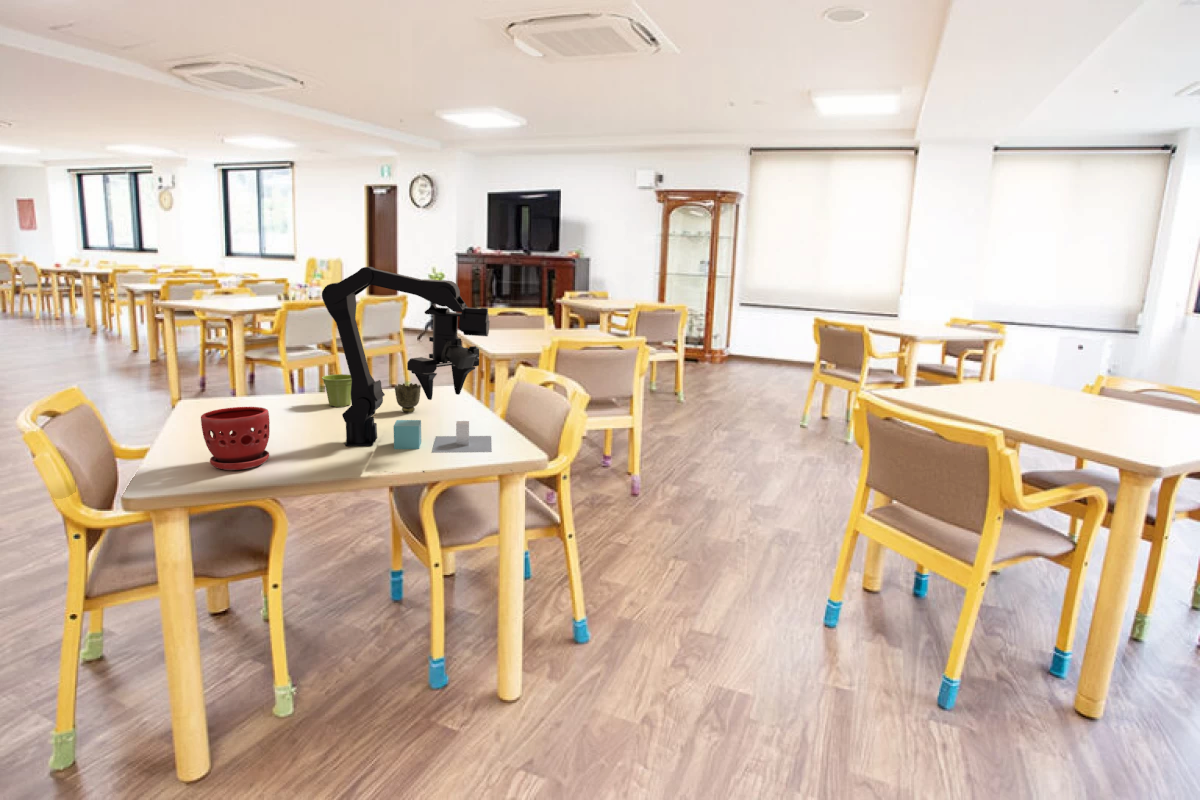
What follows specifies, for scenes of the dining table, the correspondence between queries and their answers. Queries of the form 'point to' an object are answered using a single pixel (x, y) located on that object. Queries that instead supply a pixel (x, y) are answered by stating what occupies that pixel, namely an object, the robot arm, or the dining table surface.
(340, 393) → the plant pot
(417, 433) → the teal block
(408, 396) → the scalloped urn planter
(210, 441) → the plant pot
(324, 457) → the dining table surface
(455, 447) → the base board
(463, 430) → the post
